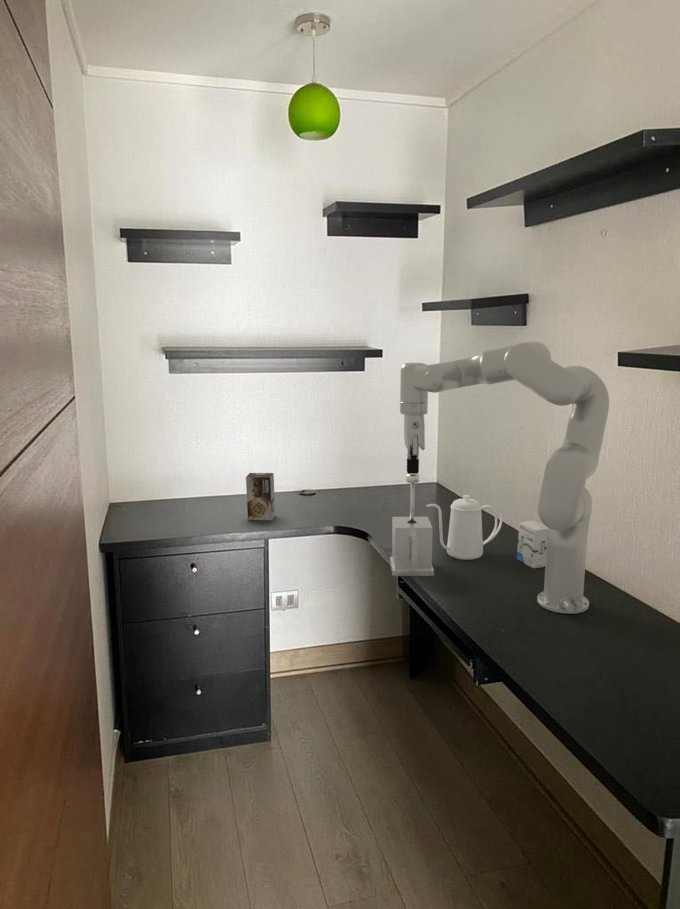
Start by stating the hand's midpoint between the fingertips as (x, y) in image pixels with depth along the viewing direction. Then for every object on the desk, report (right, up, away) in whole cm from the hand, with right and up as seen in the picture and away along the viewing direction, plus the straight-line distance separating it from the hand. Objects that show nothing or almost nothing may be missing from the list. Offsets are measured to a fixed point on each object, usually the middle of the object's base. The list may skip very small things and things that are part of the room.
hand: (412, 472), depth 194 cm
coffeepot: (+17, -26, +17) cm, 35 cm away
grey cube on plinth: (0, -28, +5) cm, 29 cm away
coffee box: (-49, -18, +55) cm, 76 cm away
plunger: (0, -18, +4) cm, 19 cm away
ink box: (+36, -27, +10) cm, 46 cm away
